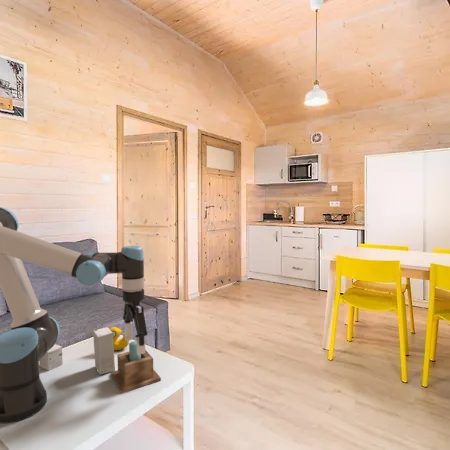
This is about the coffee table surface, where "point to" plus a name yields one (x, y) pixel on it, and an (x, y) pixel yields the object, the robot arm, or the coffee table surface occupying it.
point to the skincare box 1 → (52, 358)
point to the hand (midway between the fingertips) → (134, 346)
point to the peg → (133, 351)
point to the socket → (134, 372)
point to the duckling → (116, 342)
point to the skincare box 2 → (104, 350)
